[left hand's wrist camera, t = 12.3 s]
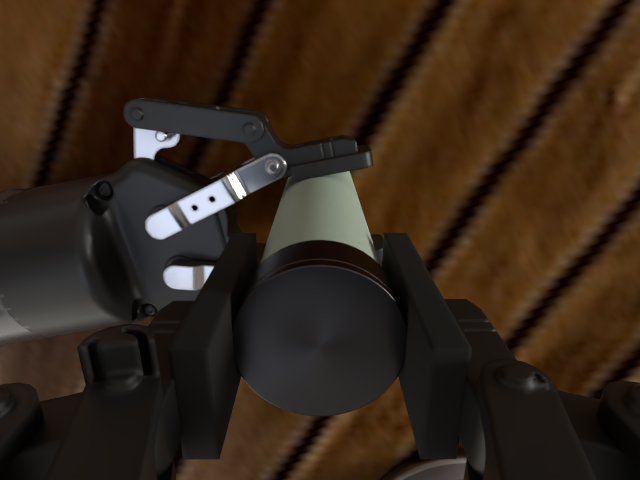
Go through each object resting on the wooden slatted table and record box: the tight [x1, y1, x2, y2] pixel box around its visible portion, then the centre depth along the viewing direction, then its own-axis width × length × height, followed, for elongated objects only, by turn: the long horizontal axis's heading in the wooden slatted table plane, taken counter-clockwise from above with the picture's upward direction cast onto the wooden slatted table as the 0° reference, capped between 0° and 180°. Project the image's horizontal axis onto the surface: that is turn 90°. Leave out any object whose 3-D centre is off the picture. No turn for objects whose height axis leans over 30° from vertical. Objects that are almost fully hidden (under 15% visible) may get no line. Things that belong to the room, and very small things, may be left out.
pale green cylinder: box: [260, 171, 380, 265], centre depth 19 cm, size 4×4×17 cm
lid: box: [232, 240, 407, 416], centre depth 11 cm, size 4×4×2 cm
